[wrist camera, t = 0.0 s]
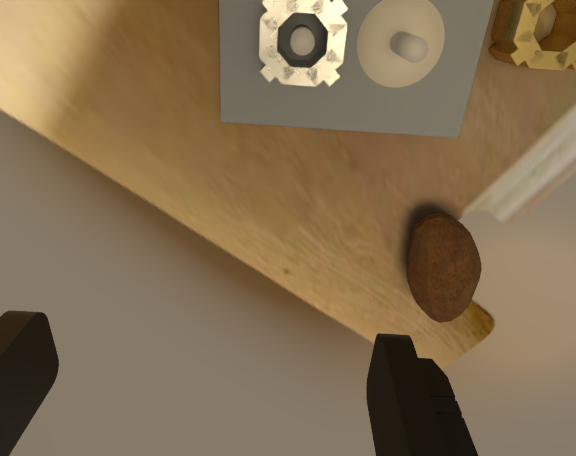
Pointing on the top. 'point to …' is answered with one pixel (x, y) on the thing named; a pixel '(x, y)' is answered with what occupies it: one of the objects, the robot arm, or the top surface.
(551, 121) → the top surface
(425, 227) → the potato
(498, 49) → the brass gear
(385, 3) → the pegboard
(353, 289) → the top surface
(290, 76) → the steel gear
